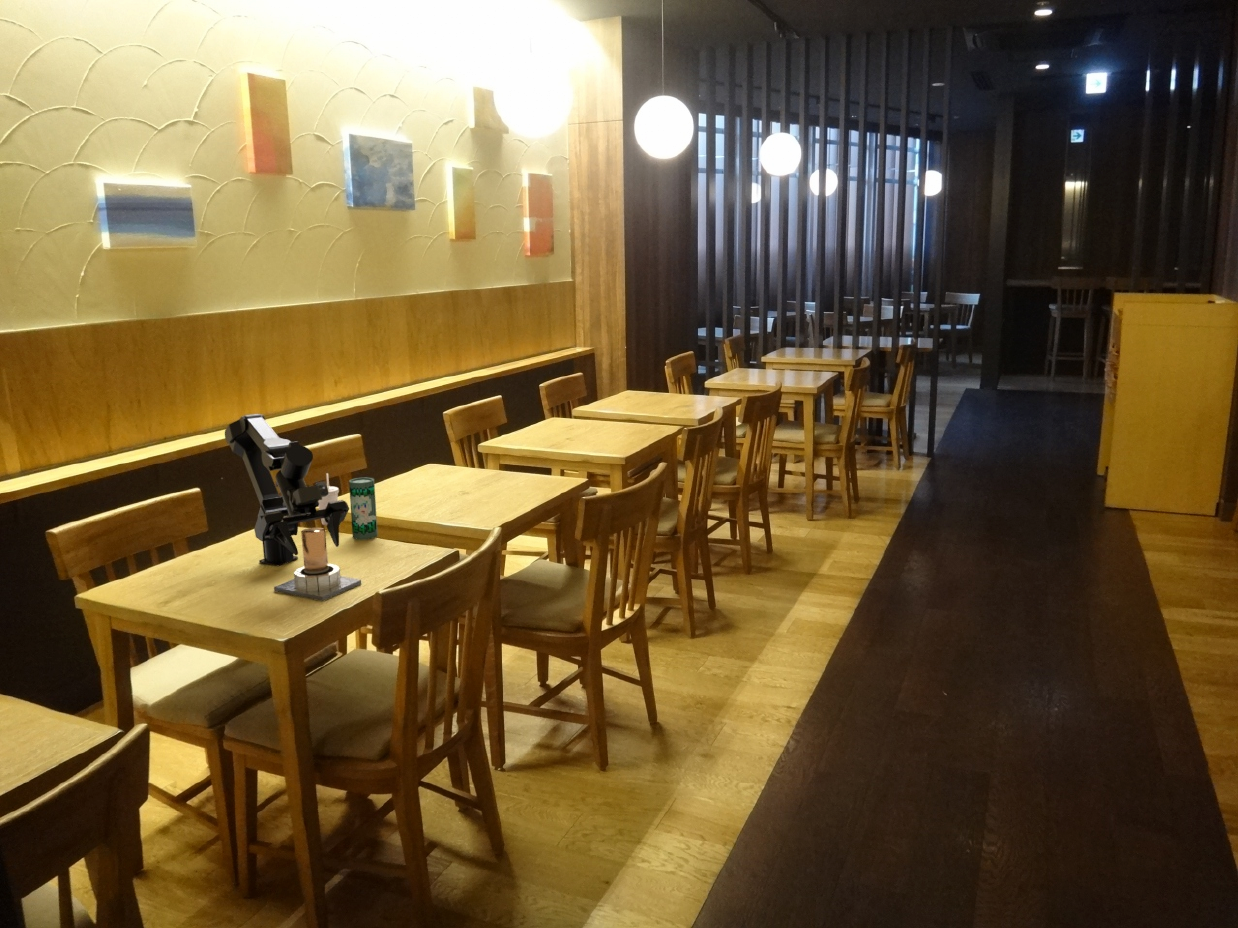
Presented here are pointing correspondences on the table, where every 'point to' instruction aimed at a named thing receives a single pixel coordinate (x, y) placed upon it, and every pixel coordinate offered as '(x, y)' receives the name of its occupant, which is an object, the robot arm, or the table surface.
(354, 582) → the plate
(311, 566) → the tan cylinder
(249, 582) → the table surface
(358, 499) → the can
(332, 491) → the smoothie
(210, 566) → the table surface
